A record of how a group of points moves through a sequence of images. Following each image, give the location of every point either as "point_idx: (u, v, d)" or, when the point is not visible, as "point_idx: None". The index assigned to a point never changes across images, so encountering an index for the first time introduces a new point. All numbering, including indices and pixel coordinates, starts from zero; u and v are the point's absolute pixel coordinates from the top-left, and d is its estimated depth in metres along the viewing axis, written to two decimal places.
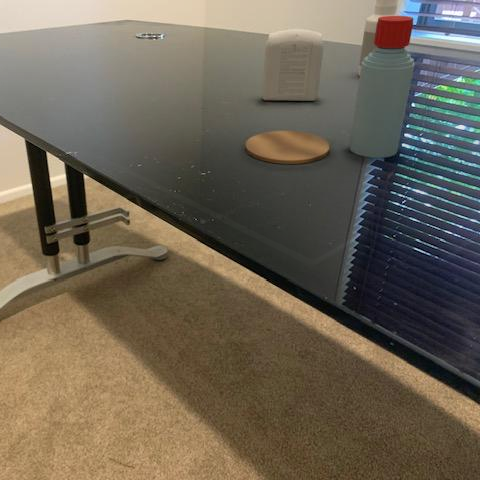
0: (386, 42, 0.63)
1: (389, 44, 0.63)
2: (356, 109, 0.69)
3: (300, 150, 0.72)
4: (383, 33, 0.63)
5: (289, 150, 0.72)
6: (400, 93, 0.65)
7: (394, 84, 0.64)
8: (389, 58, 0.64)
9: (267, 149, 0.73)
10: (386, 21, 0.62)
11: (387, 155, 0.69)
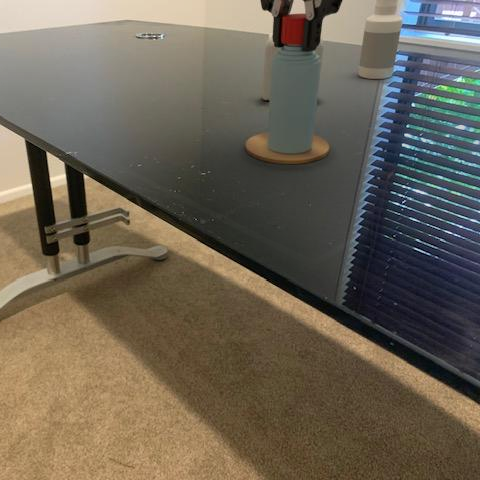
0: None
1: None
2: (270, 107, 0.70)
3: None
4: None
5: None
6: (309, 89, 0.66)
7: (303, 81, 0.66)
8: (296, 55, 0.65)
9: (267, 149, 0.73)
10: None
11: (303, 150, 0.71)
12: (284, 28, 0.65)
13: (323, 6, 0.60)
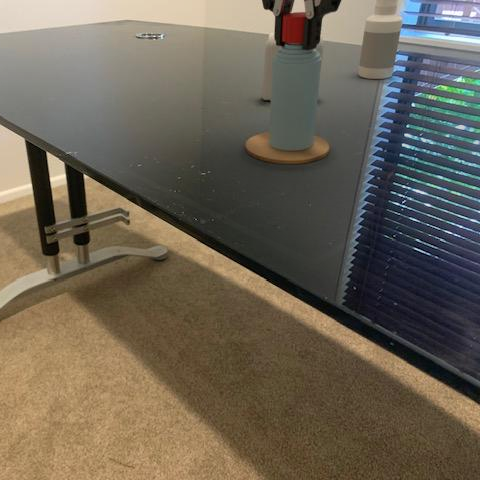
0: None
1: None
2: (272, 105, 0.71)
3: (300, 150, 0.72)
4: None
5: None
6: (310, 87, 0.67)
7: (304, 79, 0.66)
8: (297, 54, 0.66)
9: (267, 149, 0.73)
10: None
11: (304, 147, 0.72)
12: (284, 27, 0.65)
13: (322, 5, 0.60)
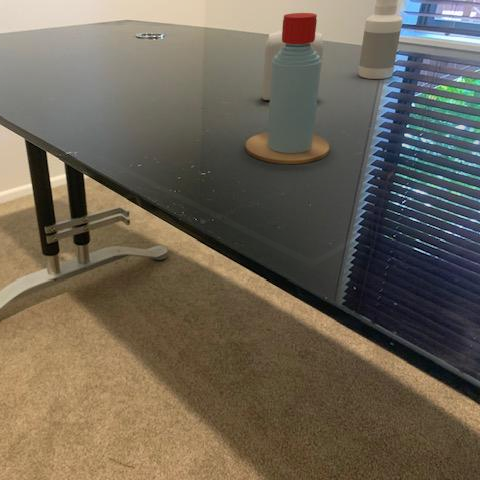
0: None
1: None
2: (275, 108, 0.69)
3: None
4: None
5: None
6: (315, 88, 0.67)
7: (311, 80, 0.66)
8: (303, 55, 0.65)
9: (267, 149, 0.73)
10: (310, 14, 0.66)
11: (308, 148, 0.71)
12: (307, 28, 0.63)
13: None
